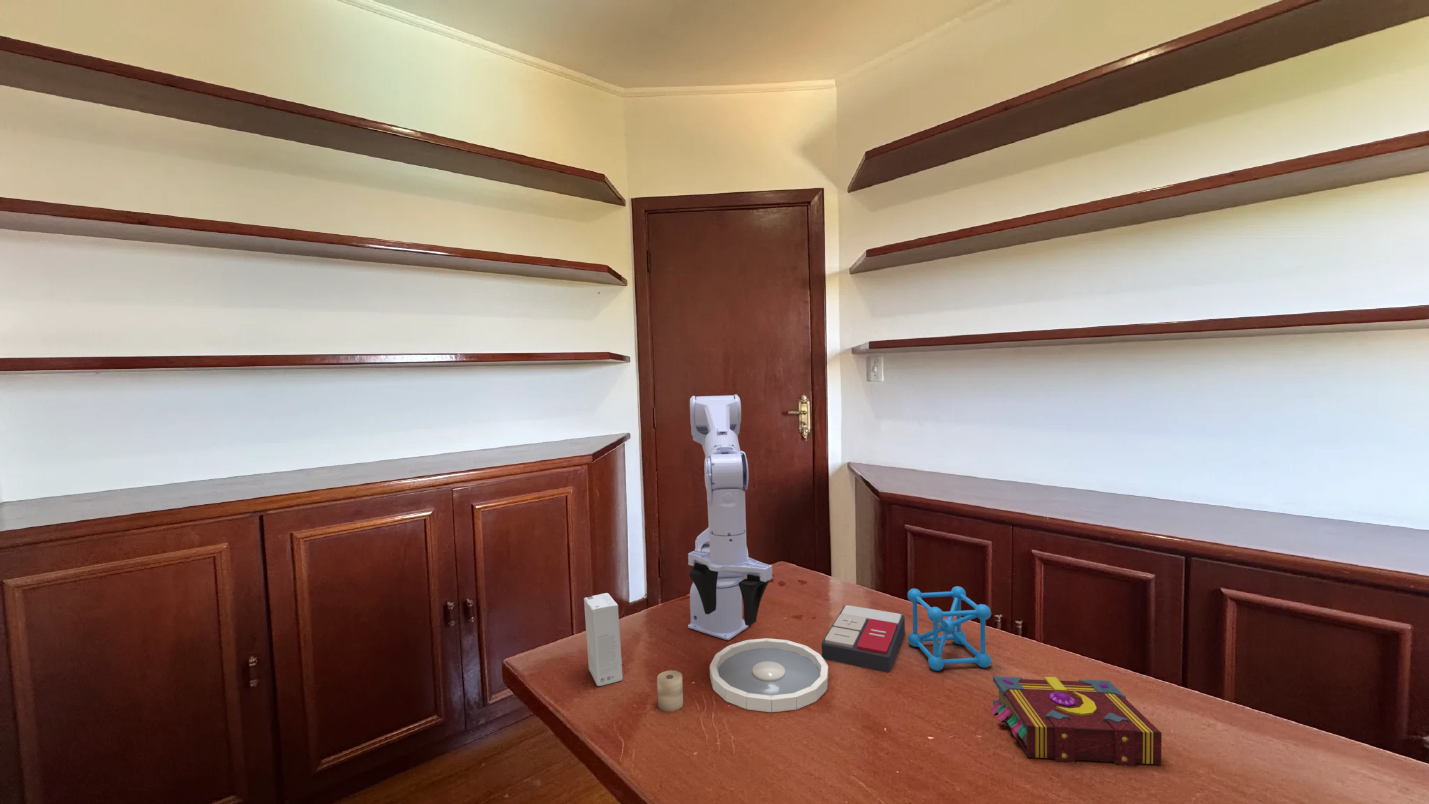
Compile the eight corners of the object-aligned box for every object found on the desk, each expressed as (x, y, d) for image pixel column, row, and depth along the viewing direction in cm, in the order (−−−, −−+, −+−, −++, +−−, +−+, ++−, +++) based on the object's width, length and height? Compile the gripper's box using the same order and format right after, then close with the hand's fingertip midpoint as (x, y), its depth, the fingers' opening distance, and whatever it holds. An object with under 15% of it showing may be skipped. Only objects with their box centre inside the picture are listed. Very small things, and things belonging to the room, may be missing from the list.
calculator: (820, 639, 92) (844, 601, 105) (821, 663, 92) (844, 623, 106) (889, 652, 87) (904, 610, 100) (889, 678, 87) (905, 633, 101)
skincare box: (623, 680, 87) (621, 604, 87) (595, 688, 85) (592, 610, 85) (613, 663, 93) (610, 591, 92) (586, 669, 91) (583, 596, 90)
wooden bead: (652, 706, 80) (651, 678, 80) (669, 694, 83) (668, 667, 83) (671, 714, 78) (670, 686, 78) (688, 702, 81) (687, 674, 81)
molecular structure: (994, 670, 87) (994, 607, 87) (932, 674, 87) (931, 610, 86) (962, 640, 97) (961, 583, 97) (906, 643, 97) (905, 586, 96)
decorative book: (1164, 770, 65) (1164, 728, 65) (1017, 762, 67) (1017, 721, 67) (1108, 712, 76) (1109, 676, 76) (984, 706, 78) (984, 671, 78)
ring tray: (687, 685, 85) (686, 674, 85) (751, 639, 100) (751, 629, 99) (791, 727, 74) (791, 714, 74) (846, 668, 89) (846, 657, 89)
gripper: (674, 530, 87) (677, 616, 88) (753, 544, 79) (756, 639, 79) (702, 520, 93) (704, 601, 94) (778, 532, 85) (780, 621, 85)
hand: (730, 617), depth 87 cm, fingers open, 7 cm apart
